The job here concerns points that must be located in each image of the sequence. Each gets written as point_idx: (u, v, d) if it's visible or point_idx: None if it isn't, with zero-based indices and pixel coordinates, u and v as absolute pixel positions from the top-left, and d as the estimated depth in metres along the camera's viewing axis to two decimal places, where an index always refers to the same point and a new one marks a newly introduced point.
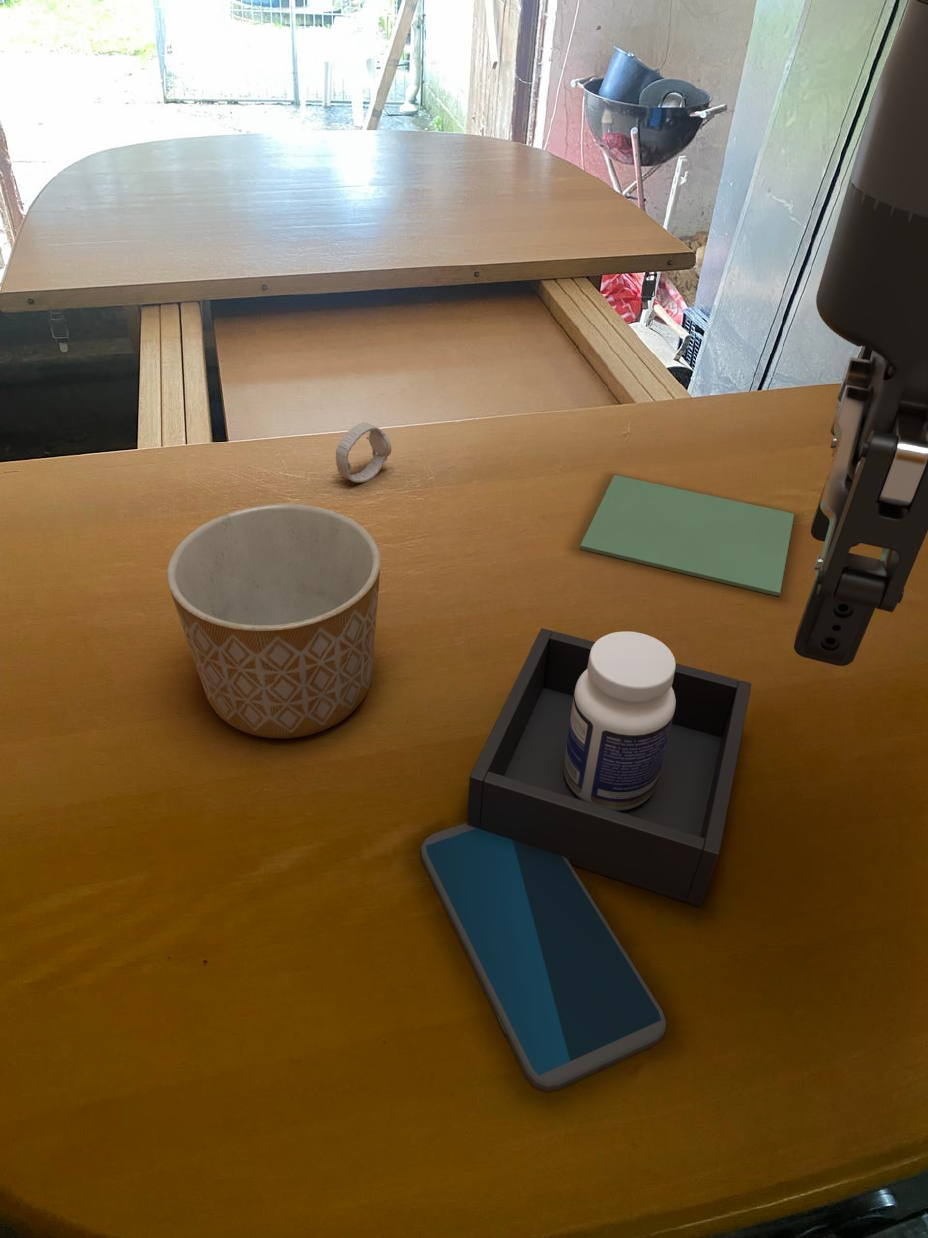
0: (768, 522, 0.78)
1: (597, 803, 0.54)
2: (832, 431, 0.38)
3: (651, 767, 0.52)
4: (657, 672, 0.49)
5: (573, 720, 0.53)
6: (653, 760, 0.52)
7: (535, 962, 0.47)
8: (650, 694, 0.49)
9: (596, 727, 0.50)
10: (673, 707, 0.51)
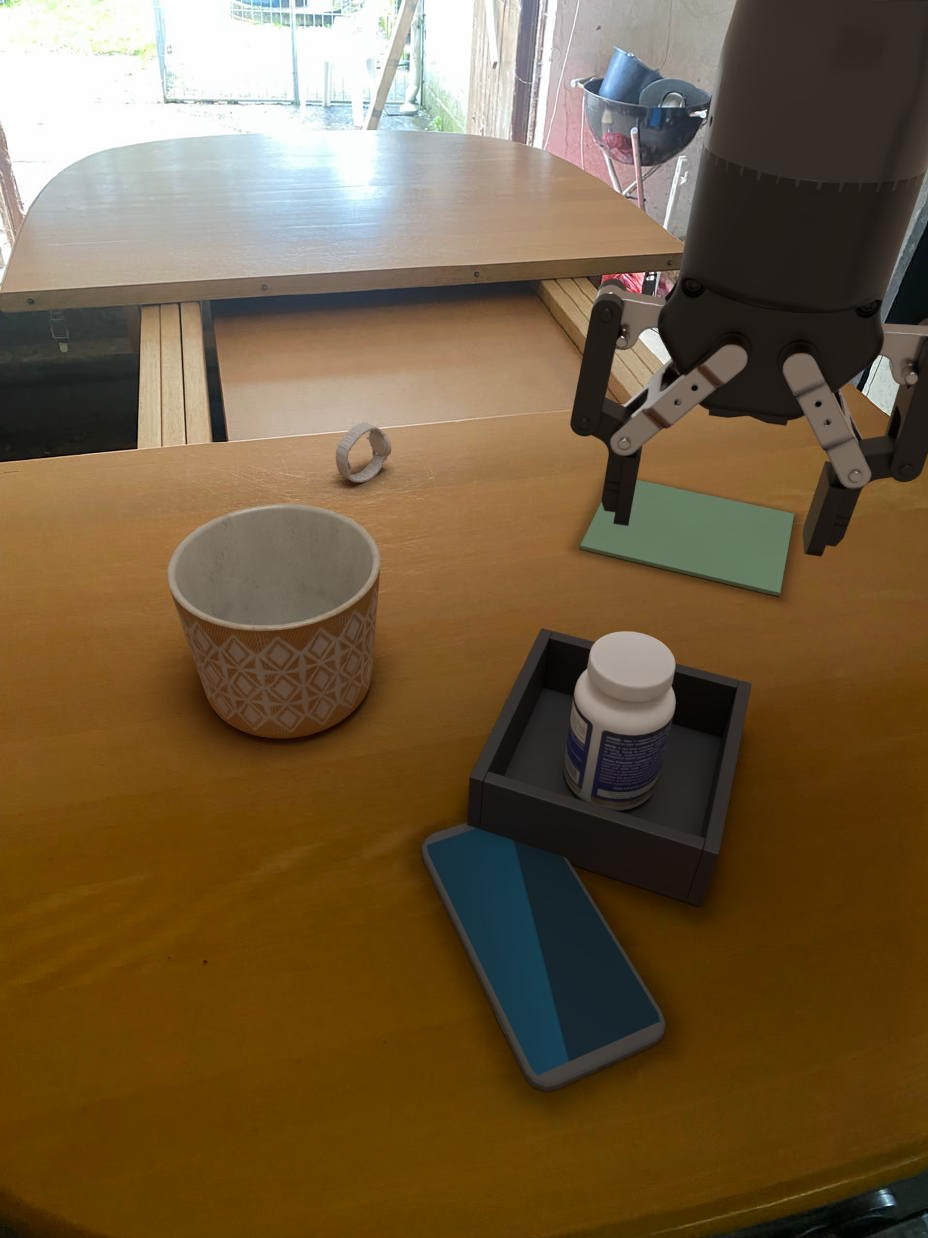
0: (768, 522, 0.78)
1: (597, 803, 0.54)
2: None
3: (651, 767, 0.52)
4: (657, 672, 0.49)
5: (573, 720, 0.53)
6: (652, 759, 0.52)
7: (534, 962, 0.47)
8: (650, 694, 0.49)
9: (596, 726, 0.50)
10: (673, 707, 0.51)
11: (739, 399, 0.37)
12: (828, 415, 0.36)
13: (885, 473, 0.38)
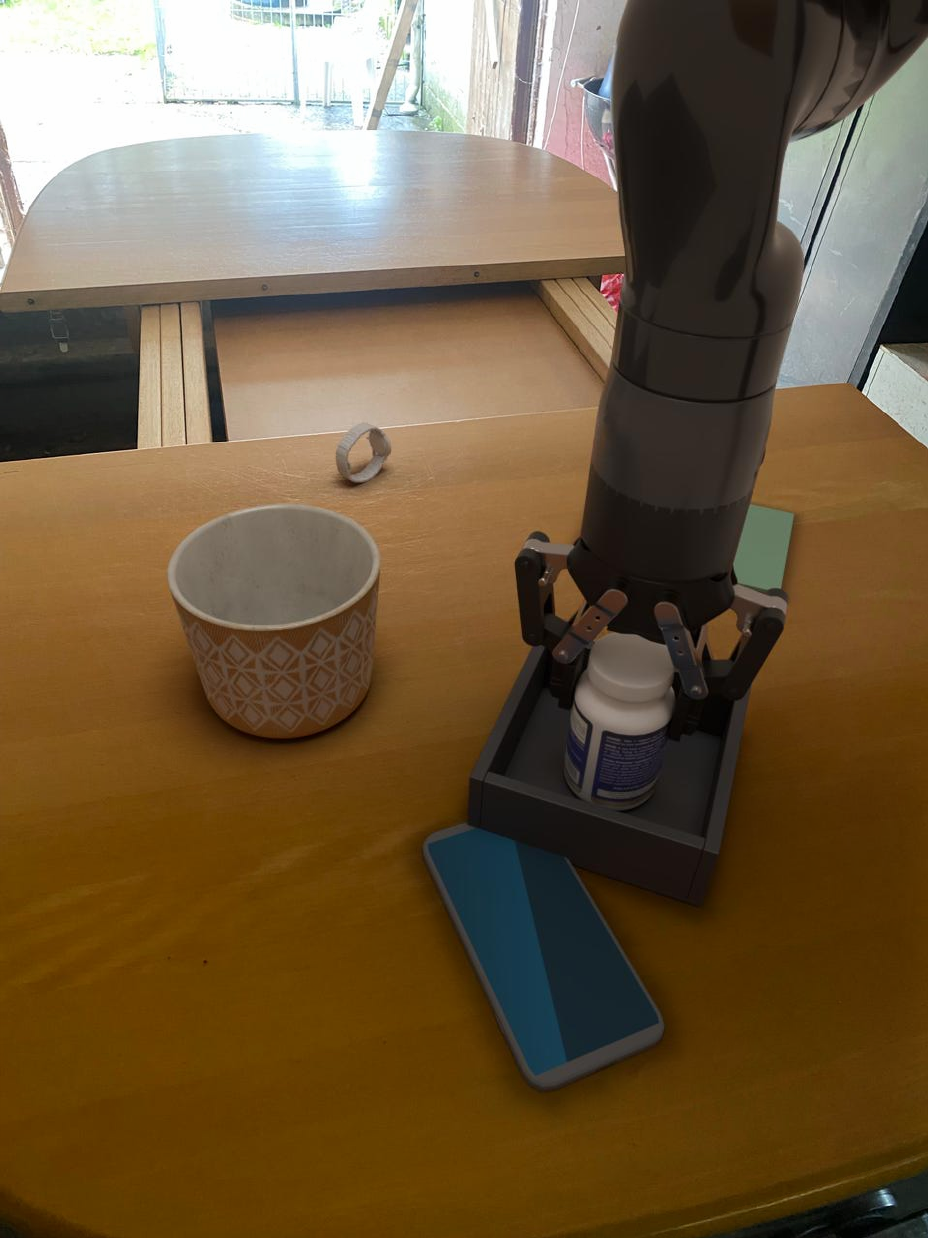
0: (768, 522, 0.78)
1: (597, 803, 0.54)
2: None
3: (651, 767, 0.52)
4: (657, 672, 0.49)
5: (573, 720, 0.53)
6: (652, 759, 0.52)
7: (534, 962, 0.47)
8: (650, 694, 0.49)
9: (596, 726, 0.50)
10: (673, 707, 0.51)
11: (628, 623, 0.47)
12: (682, 648, 0.46)
13: (721, 690, 0.48)
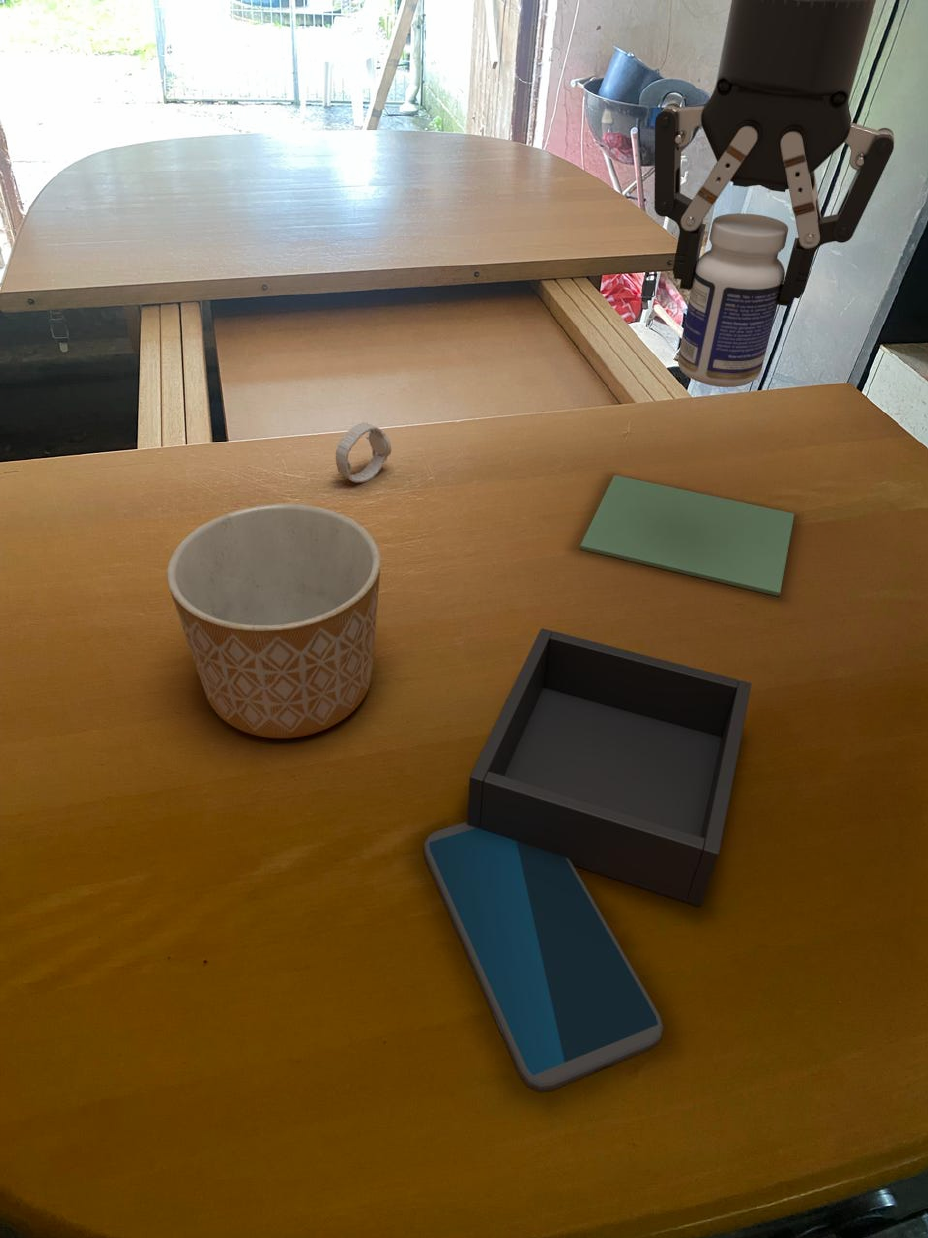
0: (768, 522, 0.78)
1: (712, 377, 0.62)
2: None
3: (762, 336, 0.60)
4: (774, 229, 0.57)
5: (693, 295, 0.60)
6: (764, 326, 0.60)
7: (533, 962, 0.47)
8: (769, 245, 0.56)
9: (718, 286, 0.58)
10: (783, 273, 0.59)
11: (753, 171, 0.55)
12: (802, 184, 0.54)
13: (830, 238, 0.56)
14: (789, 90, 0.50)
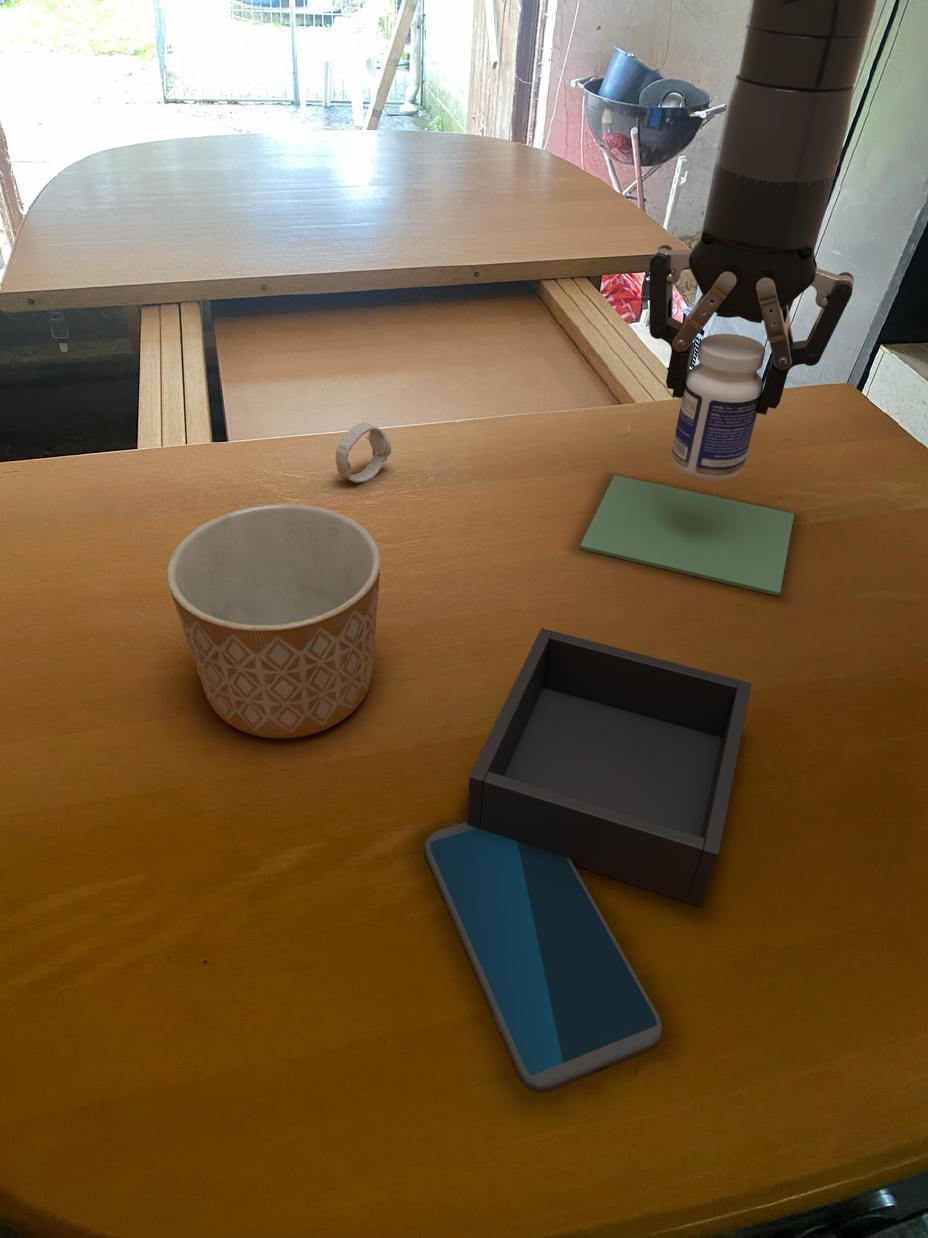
0: (768, 522, 0.78)
1: (700, 473, 0.71)
2: None
3: (744, 439, 0.69)
4: (752, 351, 0.66)
5: (684, 404, 0.69)
6: (745, 430, 0.69)
7: (533, 962, 0.47)
8: (748, 366, 0.66)
9: (704, 399, 0.67)
10: (762, 386, 0.68)
11: (734, 306, 0.64)
12: (775, 319, 0.63)
13: (801, 361, 0.65)
14: (761, 248, 0.59)
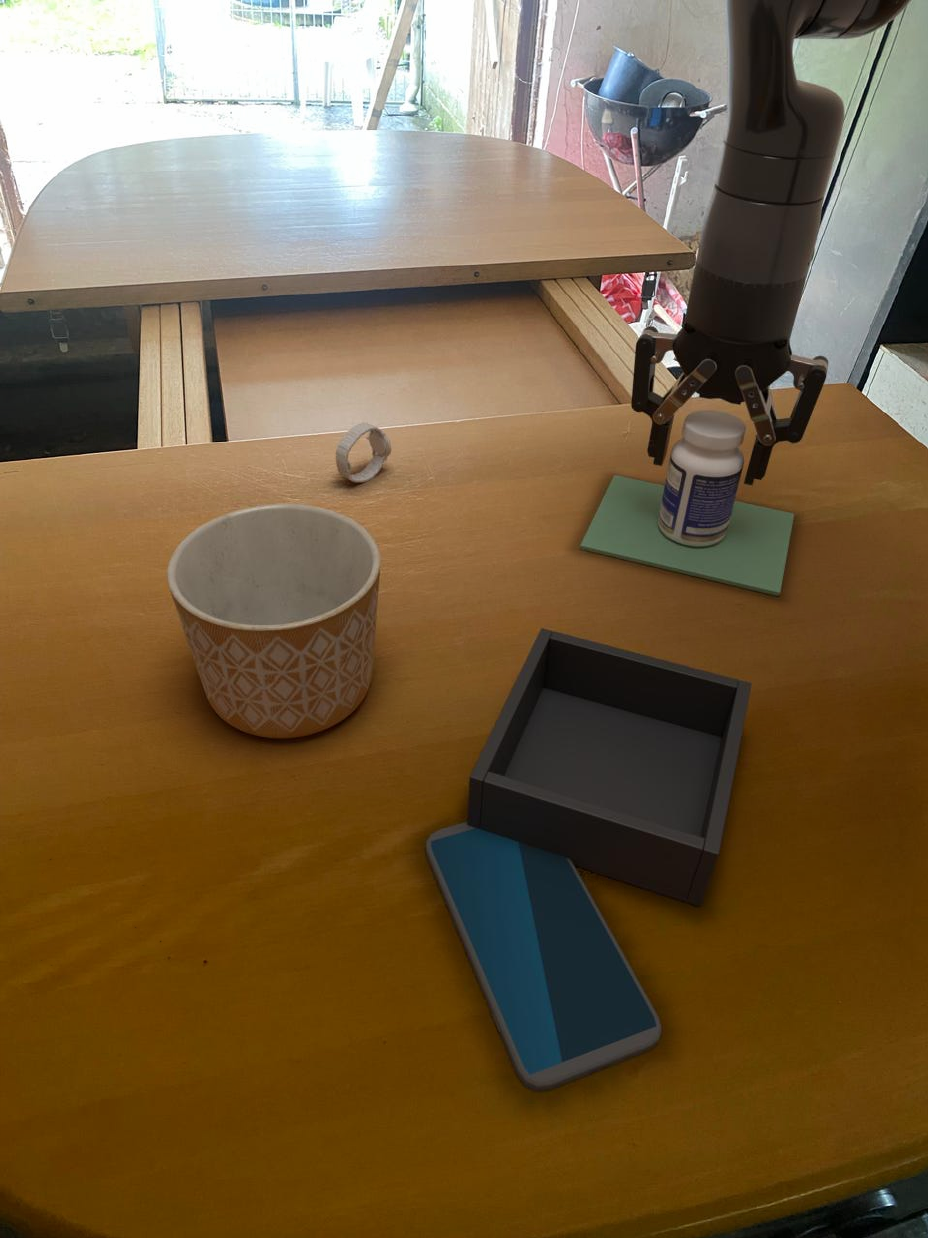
0: (768, 522, 0.78)
1: (685, 539, 0.75)
2: None
3: (726, 509, 0.73)
4: (733, 430, 0.70)
5: (670, 475, 0.73)
6: (727, 501, 0.73)
7: (533, 962, 0.47)
8: (729, 444, 0.70)
9: (688, 473, 0.71)
10: (743, 461, 0.72)
11: (714, 388, 0.68)
12: (756, 401, 0.67)
13: (784, 438, 0.69)
14: (739, 342, 0.63)
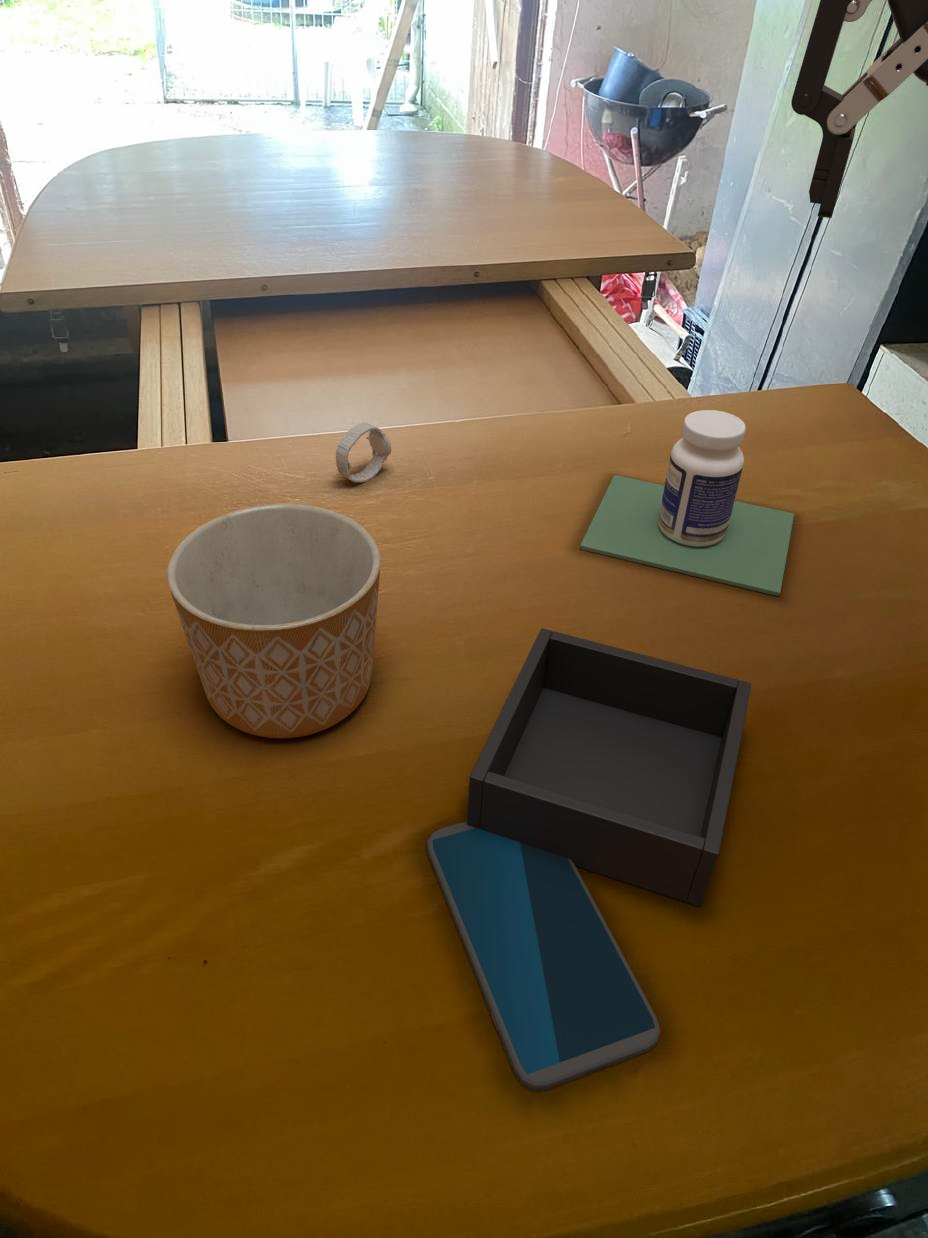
0: (768, 522, 0.78)
1: (685, 539, 0.75)
2: None
3: (726, 509, 0.73)
4: (733, 430, 0.70)
5: (669, 475, 0.73)
6: (727, 501, 0.73)
7: (532, 962, 0.47)
8: (729, 444, 0.70)
9: (688, 473, 0.71)
10: (743, 461, 0.72)
11: None
12: None
13: None
14: None
